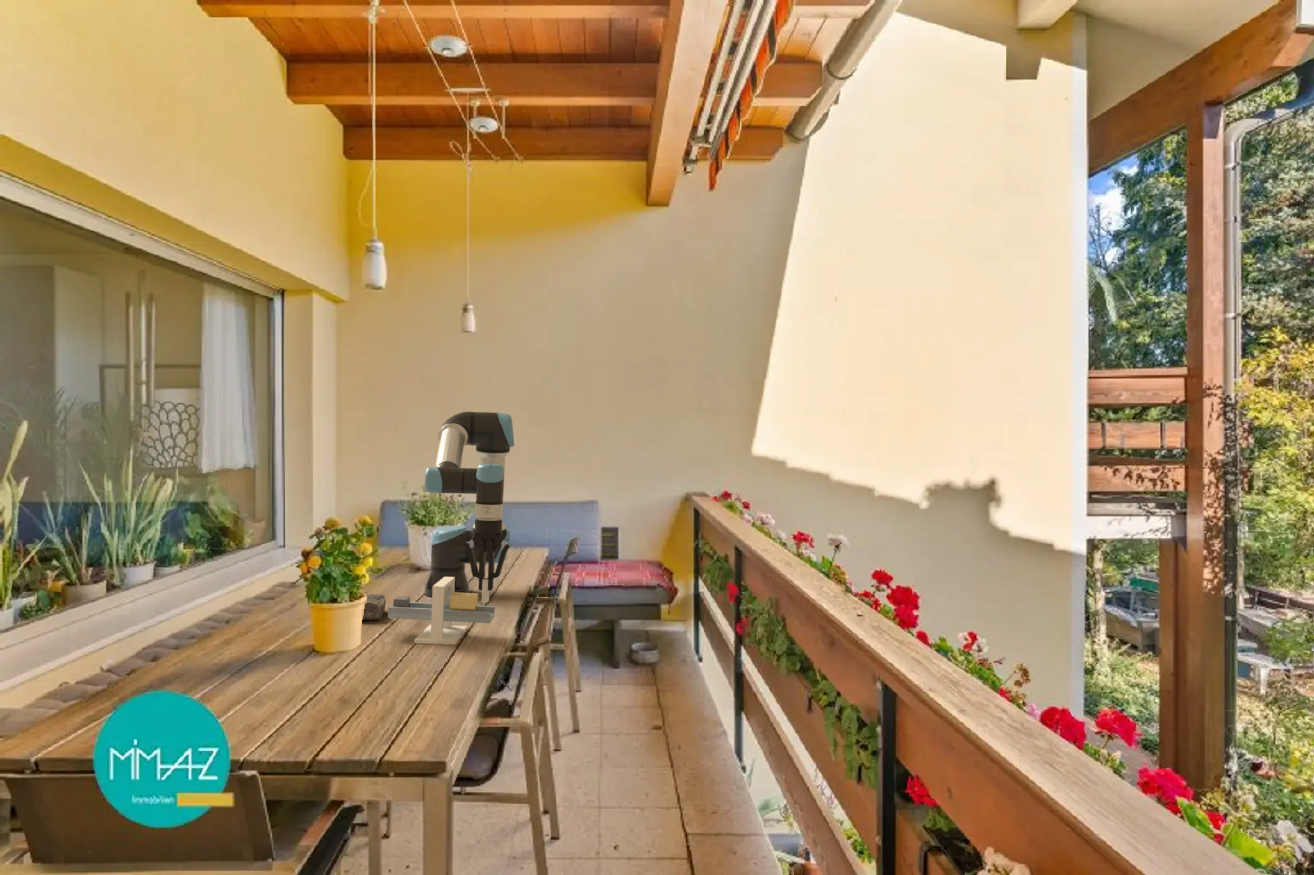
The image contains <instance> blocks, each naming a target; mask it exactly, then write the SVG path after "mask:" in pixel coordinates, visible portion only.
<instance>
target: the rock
mask: <svg viewBox="0 0 1314 875" xmlns="http://www.w3.org/2000/svg"><path fill="white" fill-rule="evenodd" d="M365 594H366V596H367V603H366V604H365V609H364V616H363V619H364V620H363V621H371V620H376V621H377V620H380V619H381V618H382V615H383V613H384V612H385V610H386V603H387V602H386V601H387V600H386V595H384V594H381V593H380V594H379V593H376V594H375V593H374V594H373V593H365Z"/></svg>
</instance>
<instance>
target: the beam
mask: <svg viewBox="0 0 1314 875" xmlns="http://www.w3.org/2000/svg"><path fill="white" fill-rule="evenodd" d="M392 603H393V604H392V606H391V605H390V606H388V611H387V618H388V619H401V620H417V621H418V620H421V621H431V616H432V602H419V601H418V602H417V601H411V596H404V595H397V596H396V597H395V598H393V601H392ZM449 603H450V587H449V586H448V587H447V588H446V589H445V596H444V621H453V623H454V622H456V623H457V622H458V623H475V624H476V623H477V624H490V623H491V622H492V620H494V618H495V612H496V611H495V610H496V607H495V605H494V606H492V605H491V606H489V605H478V611H466V610H450V604H449Z"/></svg>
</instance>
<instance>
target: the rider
mask: <svg viewBox="0 0 1314 875" xmlns="http://www.w3.org/2000/svg"><path fill="white" fill-rule="evenodd" d="M479 595H480V593H479V592H478V593H477V592H476V593H475V592H469V593H461V592H453V593H452V594H451V595H450V610H466V611H478V606H479Z"/></svg>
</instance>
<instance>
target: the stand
mask: <svg viewBox="0 0 1314 875" xmlns="http://www.w3.org/2000/svg"><path fill="white" fill-rule="evenodd" d="M454 585H455V577H444V578H442V579H441V580H440V581H439V582H437V583H436V584H435V585H434V586H433V588H432V590H433V591H432V597H431V603H432V616H431V620H430V621H431V622H430V624H429V625H428V626H427V627H426V628H425V629H424V630H423V631H422V632H421V633H420V634H418V636H417V637H415V638H414V644H423V645H425V644H426V645H428V644H429V645H430V644H431V645H456V644H457V643H458V642H459V641H460V639H461V638H462V637H463V636H464V634H465V633H466V631H468V625H454V621H444V596H445V589H446V588H447V587H448V586H449V587H450V595H451V594H452V593H453V592H454ZM449 604H450V603H449Z"/></svg>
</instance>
